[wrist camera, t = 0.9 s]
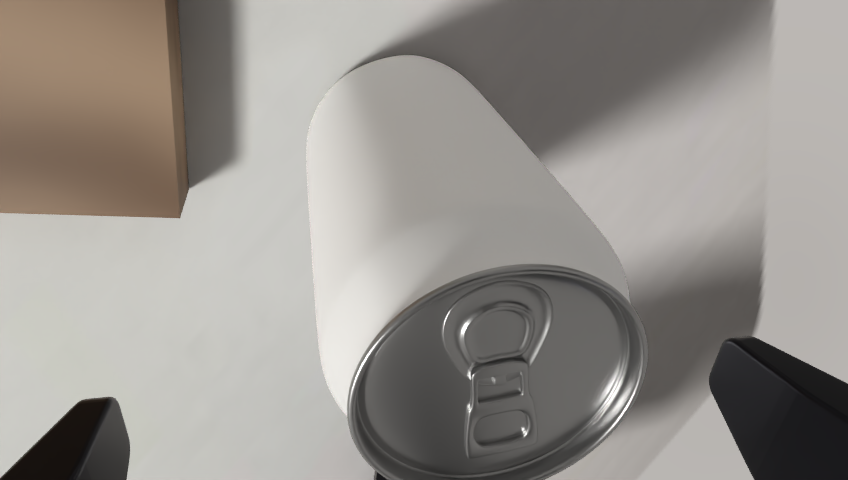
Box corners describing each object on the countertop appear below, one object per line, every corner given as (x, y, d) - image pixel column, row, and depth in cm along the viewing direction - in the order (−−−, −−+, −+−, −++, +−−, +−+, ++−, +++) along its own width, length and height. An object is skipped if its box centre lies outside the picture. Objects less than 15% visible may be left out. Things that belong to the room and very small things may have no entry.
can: (487, 38, 20) (696, 212, 10) (492, 210, 23) (650, 472, 13) (287, 66, 19) (285, 286, 9) (323, 240, 22) (352, 542, 12)
